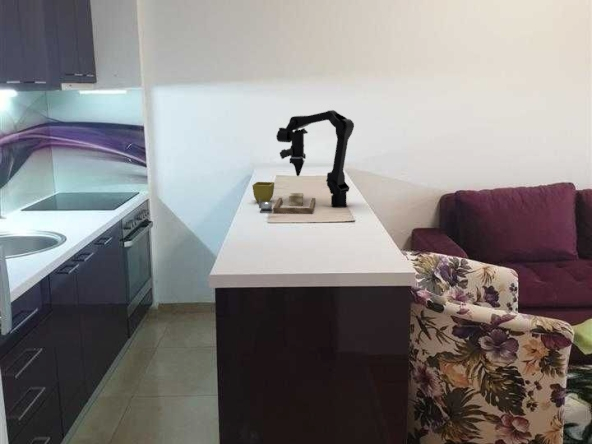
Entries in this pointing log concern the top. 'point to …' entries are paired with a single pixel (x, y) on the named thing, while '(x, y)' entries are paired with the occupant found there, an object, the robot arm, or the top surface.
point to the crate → (296, 199)
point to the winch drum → (265, 206)
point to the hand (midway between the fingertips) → (297, 175)
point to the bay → (293, 210)
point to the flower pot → (263, 191)
